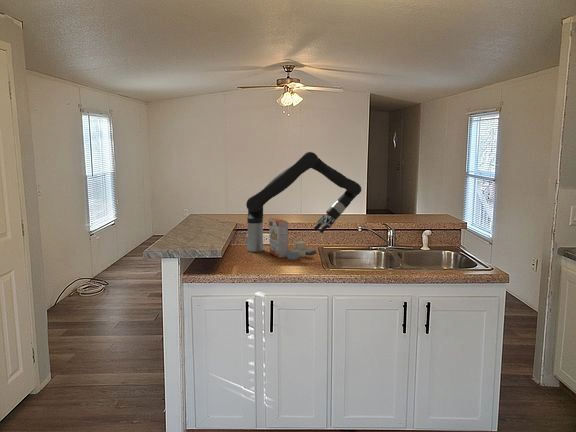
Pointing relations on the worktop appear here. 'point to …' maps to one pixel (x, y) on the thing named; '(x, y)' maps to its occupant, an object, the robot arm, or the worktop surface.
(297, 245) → the birch block
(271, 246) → the cracker box
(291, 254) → the slate cube
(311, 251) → the charcoal pad
